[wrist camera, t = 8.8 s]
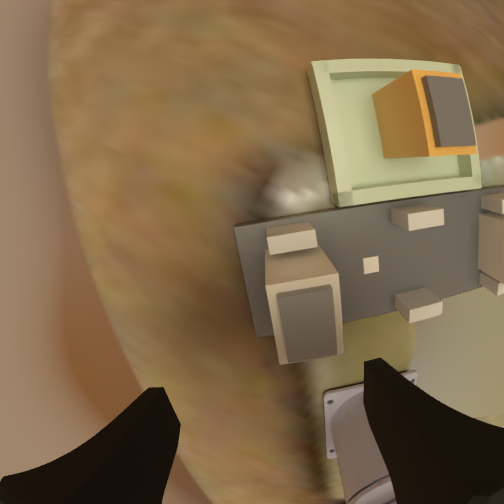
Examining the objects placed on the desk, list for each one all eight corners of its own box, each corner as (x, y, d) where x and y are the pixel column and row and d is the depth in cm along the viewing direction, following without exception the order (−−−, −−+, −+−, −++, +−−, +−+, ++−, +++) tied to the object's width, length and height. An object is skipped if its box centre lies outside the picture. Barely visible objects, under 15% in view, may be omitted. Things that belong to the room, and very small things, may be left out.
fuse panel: (505, 272, 18) (559, 304, 11) (256, 329, 20) (253, 400, 13) (507, 185, 16) (571, 197, 10) (235, 224, 18) (218, 257, 11)
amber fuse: (424, 154, 16) (483, 153, 10) (384, 158, 16) (435, 156, 10) (413, 94, 15) (466, 71, 9) (371, 94, 15) (416, 66, 9)
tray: (464, 185, 17) (481, 188, 15) (331, 203, 18) (339, 207, 16) (444, 71, 15) (459, 65, 13) (306, 72, 16) (311, 61, 14)
